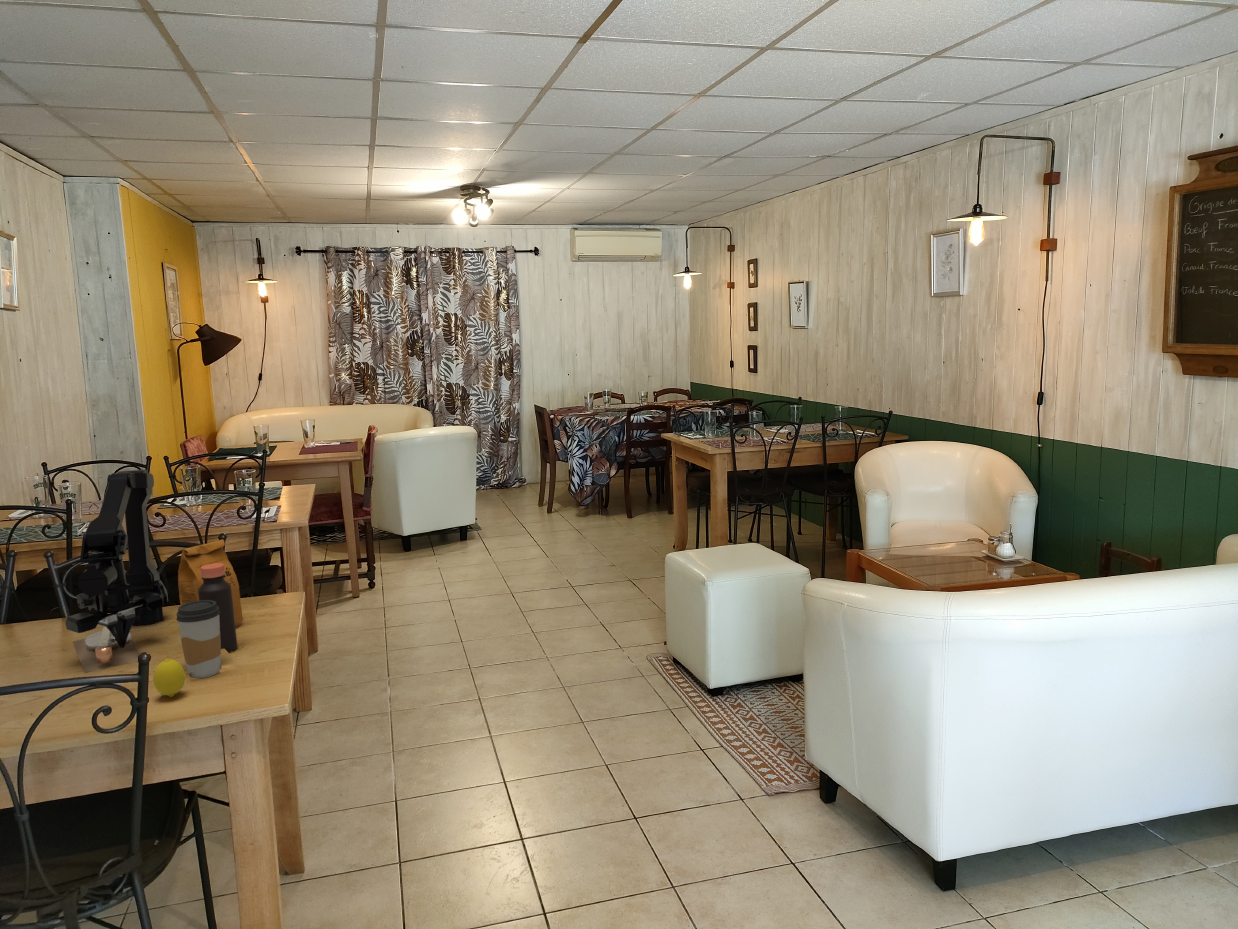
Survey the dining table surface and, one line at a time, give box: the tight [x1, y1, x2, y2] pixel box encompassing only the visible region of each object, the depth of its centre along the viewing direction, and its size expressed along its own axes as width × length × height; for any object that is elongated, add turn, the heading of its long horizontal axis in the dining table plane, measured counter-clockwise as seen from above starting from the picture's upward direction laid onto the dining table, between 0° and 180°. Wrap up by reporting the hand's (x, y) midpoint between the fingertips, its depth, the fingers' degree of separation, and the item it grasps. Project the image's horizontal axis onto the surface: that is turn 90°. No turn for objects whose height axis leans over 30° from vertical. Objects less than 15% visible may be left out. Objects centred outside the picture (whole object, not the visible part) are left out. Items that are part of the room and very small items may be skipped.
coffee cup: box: [176, 600, 222, 679], centre depth 180 cm, size 8×8×15 cm
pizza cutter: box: [84, 626, 132, 663], centre depth 190 cm, size 9×22×4 cm, turn 28°
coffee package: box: [177, 539, 244, 628], centre depth 206 cm, size 10×12×22 cm
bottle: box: [198, 563, 238, 654], centre depth 193 cm, size 7×7×20 cm
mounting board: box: [71, 638, 141, 674], centre depth 192 cm, size 11×25×2 cm, turn 38°
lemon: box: [153, 658, 186, 698], centre depth 169 cm, size 6×6×8 cm
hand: (122, 647), depth 190 cm, fingers closed
